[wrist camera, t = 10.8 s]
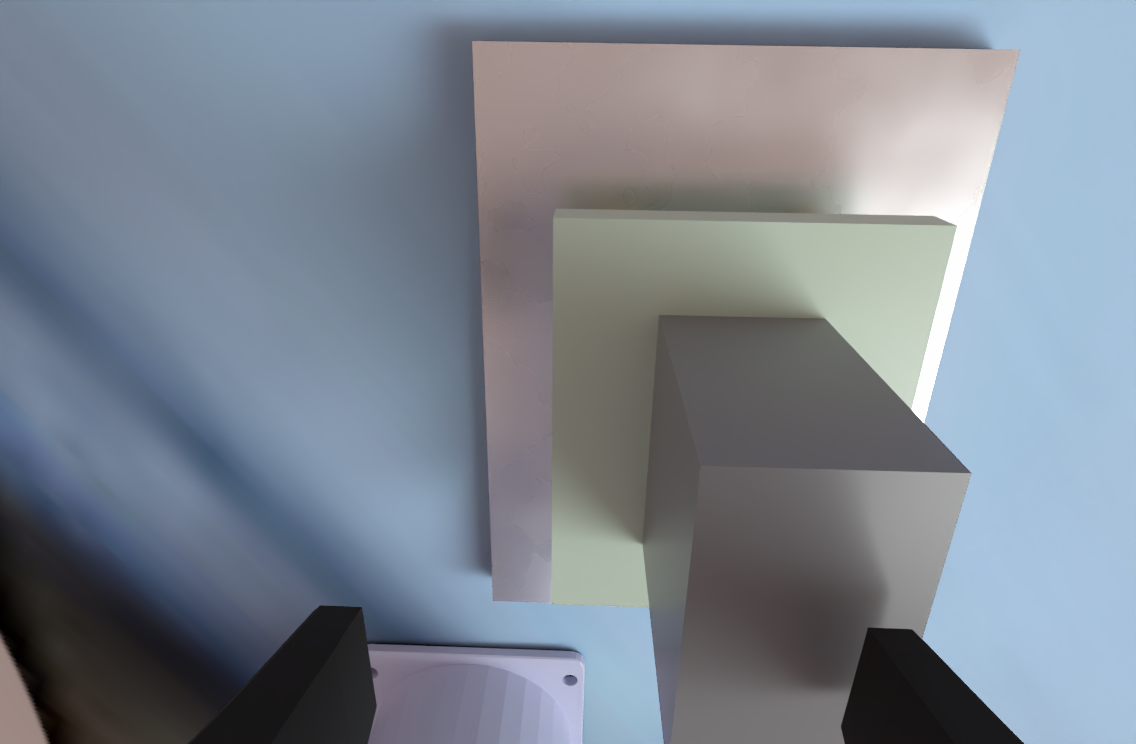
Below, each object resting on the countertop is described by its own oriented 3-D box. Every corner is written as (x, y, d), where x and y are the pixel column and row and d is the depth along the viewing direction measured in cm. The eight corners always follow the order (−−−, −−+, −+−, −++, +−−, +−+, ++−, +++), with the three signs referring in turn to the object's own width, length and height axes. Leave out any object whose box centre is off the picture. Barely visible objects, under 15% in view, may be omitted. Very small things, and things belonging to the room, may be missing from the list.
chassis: (862, 591, 22) (900, 665, 19) (496, 579, 22) (484, 649, 20) (995, 51, 16) (1080, 47, 13) (478, 42, 16) (455, 37, 13)
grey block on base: (847, 587, 18) (984, 862, 12) (553, 577, 19) (534, 844, 12) (933, 215, 14) (1209, 332, 8) (555, 208, 15) (527, 317, 8)
